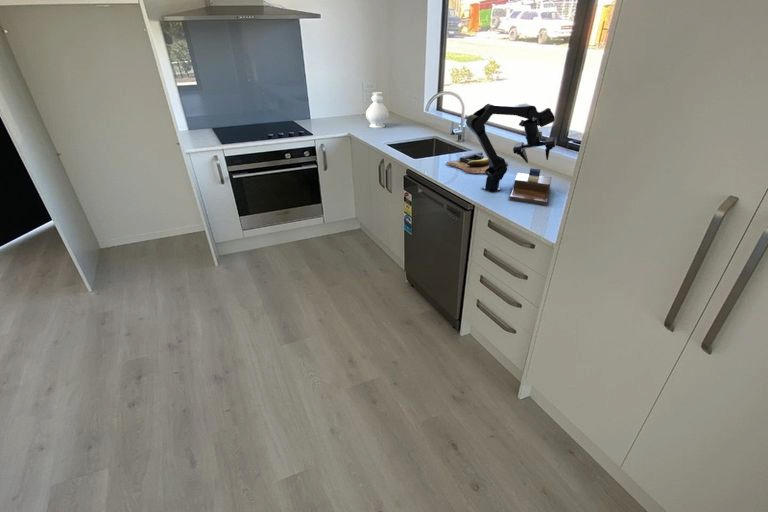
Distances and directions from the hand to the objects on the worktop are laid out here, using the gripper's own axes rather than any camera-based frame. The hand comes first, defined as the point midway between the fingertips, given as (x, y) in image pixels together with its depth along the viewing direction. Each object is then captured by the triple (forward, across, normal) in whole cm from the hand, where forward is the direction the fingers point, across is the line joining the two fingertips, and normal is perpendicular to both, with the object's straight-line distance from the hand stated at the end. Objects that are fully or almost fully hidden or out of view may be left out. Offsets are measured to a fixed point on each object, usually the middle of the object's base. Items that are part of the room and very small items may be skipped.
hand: (537, 161), depth 191 cm
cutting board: (+6, +36, -20) cm, 42 cm away
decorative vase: (-8, +136, -81) cm, 158 cm away
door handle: (+8, +40, -25) cm, 48 cm away
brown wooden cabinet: (+10, +3, +14) cm, 17 cm away
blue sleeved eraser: (+6, +2, +6) cm, 9 cm away
